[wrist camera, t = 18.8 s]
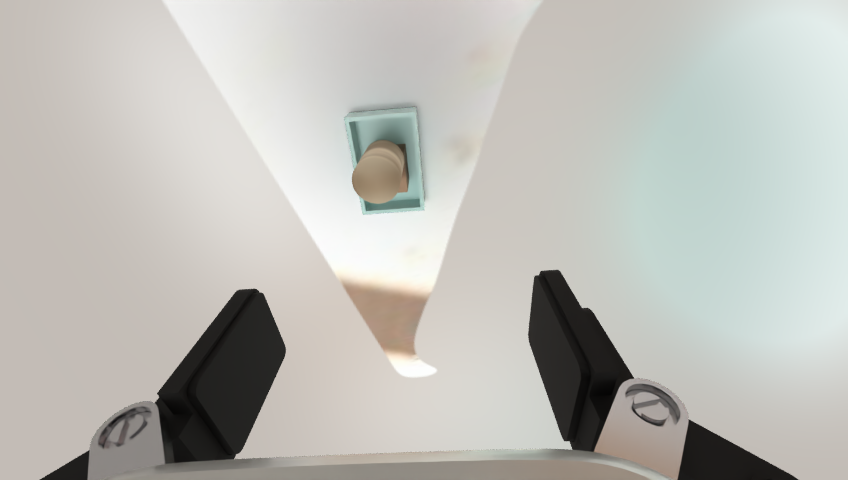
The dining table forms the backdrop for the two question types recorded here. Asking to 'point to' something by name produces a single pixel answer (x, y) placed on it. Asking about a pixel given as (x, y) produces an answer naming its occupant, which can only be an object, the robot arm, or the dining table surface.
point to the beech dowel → (379, 172)
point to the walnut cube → (404, 171)
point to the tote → (398, 130)
